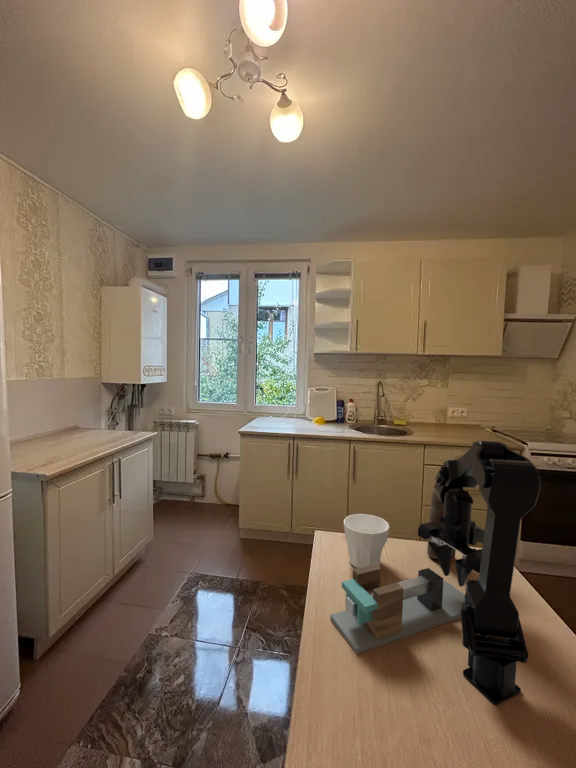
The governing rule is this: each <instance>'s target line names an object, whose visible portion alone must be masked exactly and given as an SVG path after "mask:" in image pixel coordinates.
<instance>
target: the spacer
mask: <svg viewBox="0 0 576 768" xmlns="http://www.w3.org/2000/svg"><path fill="white" fill-rule="evenodd" d="M341 588H342V589H343V591H344V592H345V598H346V597H348V596H350V597H351V598H352V599H353V600H354V601H355V603H356V604H357V623H358V624H359V625H360V624H363V623H367V622H370V621H372V611H373V610H376V609H378V603H377V602H376V601H375V600H374V599H373V598H372V597H371V596H370V595H369V594H368V593H367V592H366V591H365V590H364V589H363V588H362V587H361V586H360V584H359V583H358V582H357V581H356V580H355V579H353V578H351V579H347V580H344V581H341ZM344 608H345V610H347V609H346V606H345V607H344ZM347 611H348V610H347Z"/></svg>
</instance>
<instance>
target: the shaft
mask: <svg viewBox="0 0 576 768" xmlns="http://www.w3.org/2000/svg"><path fill="white" fill-rule="evenodd" d="M417 575H418V576H415V577H413V578H409V579H405V580H402V581H398V582H396V583H398V584H400V585H401V586H402V587H403V600H406V599H409V598H412V597H415V596H417V599H418V600H419V601H420V602H421V603H422V604H424V605H425V606H426V607H427V608H428V609H429V610H431V611H435V610H438V609H441V608H442V599H443V582H444V578H443V577H442V576H440V574H438V573H436V572H435V571H433V570H432V569H431V568H429V567H426V568H424V569H420V570H418V573H417ZM391 584H392V583H391ZM391 584H389V585H391ZM382 587H384V586H382ZM366 592H367V593H368V594H369V595H370V596H371V597H372V598H373V590H369V591H366ZM345 607H346V609H347V610H348V611H349V612H350V613H351V615H352V616H354V615H357V604H356V603H355V601H354V600H353V599H352V598H351V597H350V596H348V597H346V596H345ZM346 609H345V610H346Z"/></svg>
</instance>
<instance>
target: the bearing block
mask: <svg viewBox="0 0 576 768" xmlns="http://www.w3.org/2000/svg"><path fill="white" fill-rule="evenodd" d="M381 570H382V569H381V566H380V567H379V566H377V565H376V564H374V565H370V566H366V567H362V568H355V569H352V579H355V580H356V581H357V582H358V583H359V584H360V586H361V587H362V588H363V589H364V590H365V591H369V590H373V599H374V600H375V601H376V602H377V603H378V609H376V610H373V611H372V621H370V622H367V623H363V624H364V625H365V626H366V628H367V629H368V630H369V631H370V632H371V634H372V635H373V636H374V637H375V638H376V639H377V640H379V639H382V638H385V637H388V636H390V635H393V634H396V633H399V632H402V610H403V587H402V586H401V585H400V584H398V583H397V582H394V583H391V585H390V584H387V585H385V586H384V587H383V586H381V577H382V576H381V575H382V571H381ZM356 616H357V615H356Z"/></svg>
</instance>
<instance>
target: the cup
mask: <svg viewBox="0 0 576 768" xmlns="http://www.w3.org/2000/svg"><path fill="white" fill-rule="evenodd" d="M343 529H344V530H343V531H344V538H345V540H346V543H347V548H348V555H349V563H350V564H351V565H352V566H353V567H354V568H355V569H358V568H362V567H366V566H370V565H374V564H376V565H377V566H379V567H380V568H381V556H382V552H383V549H384V547H385V546H386V544H387V542H388V537H389V534H390V533H389V532H390V524H389V522H388V521H387V520H385V519H384V518H381V517H379V516H378V515H372V514H365V513H356V514H355V513H354V514H351V515H347V516H345V518H344V519H343Z"/></svg>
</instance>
